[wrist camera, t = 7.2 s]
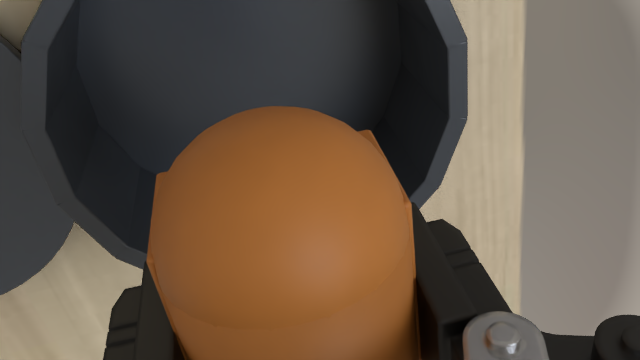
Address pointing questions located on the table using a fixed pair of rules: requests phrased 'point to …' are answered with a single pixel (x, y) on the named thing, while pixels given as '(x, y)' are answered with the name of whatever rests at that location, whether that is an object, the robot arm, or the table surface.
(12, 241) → the lid
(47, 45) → the pot
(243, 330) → the bread
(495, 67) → the table surface
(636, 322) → the robot arm
